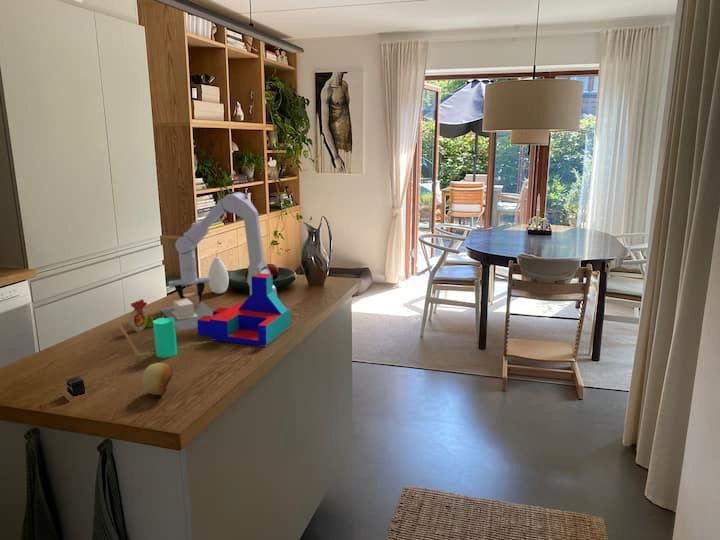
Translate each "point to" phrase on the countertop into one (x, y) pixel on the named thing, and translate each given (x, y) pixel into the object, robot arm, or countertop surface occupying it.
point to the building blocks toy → (249, 316)
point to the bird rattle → (139, 321)
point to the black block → (75, 386)
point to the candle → (165, 337)
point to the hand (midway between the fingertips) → (191, 303)
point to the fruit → (157, 378)
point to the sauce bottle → (218, 276)
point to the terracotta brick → (193, 298)
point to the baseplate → (188, 321)
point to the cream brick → (183, 308)
